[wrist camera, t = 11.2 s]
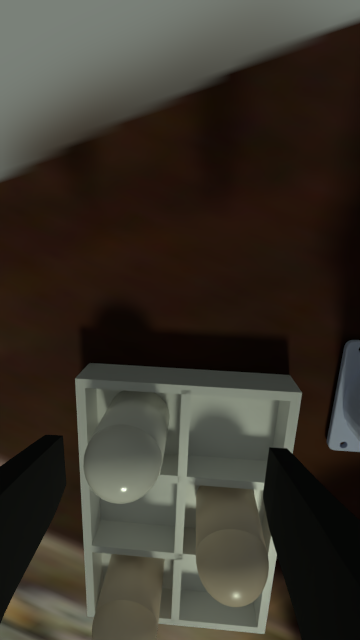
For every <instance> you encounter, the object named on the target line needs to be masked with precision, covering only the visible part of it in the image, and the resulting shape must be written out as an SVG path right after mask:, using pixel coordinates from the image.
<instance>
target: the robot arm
mask: <svg viewBox="0 0 360 640" xmlns="http://www.w3.org/2000/svg"><path fill="white" fill-rule="evenodd" d="M359 347H360V340H350V341H348V342H347V343H346V344H345V346H344V350H343V356H342V361H341V367H340V372H339V377H338V383H337V388H336V393H335V399H334V404H333V409H332V415H331V420H330V426H329V431H328V436H327V444H328V446H329V448H331V449H332V450H340V451H354V452H360V351H359ZM341 442H344V443H343V444H340V443H341ZM65 486H66V475H65V461H64V446H63V436H58V435H45V436H43V437H42V438H40V439H39V440H37V441H36V442H34V443H33V444H31V445H30V446H29V447H27V448H26V449H24V450H23V451H22V452H20V453H19V454H17V455H16V456H15V457H13V458H12V459H10V460H9V461H7V462H6V463H5V464H3V465H2V466H0V623H1V620H2V618H3V616H4V613H5V611H6V609H7V607H8V605H9V603H10V601H11V598H12V596H13V594H14V592H15V590H16V588H17V586H18V584H19V583H20V581H21V579H22V577H23V575H24V573H25V571H26V569H27V567H28V565H29V563H30V561H31V560H32V558H33V556H34V554H35V552H36V550H37V548H38V546H39V544H40V542H41V540H42V538H43V536H44V534H45V533H46V531H47V529H48V527H49V525H50V523H51V521H52V519H53V517H54V515H55V512H56V510H57V507H58V505H59V502H60V500H61V497H62V494H63V491H64V489H65ZM263 500H264V506H265V511H266V516H267V521H268V526H269V530H270V534H271V537H272V540H273V543H274V547H275V550H276V553H277V557H278V560H279V563H280V566H281V569H282V573H283V576H284V579H285V582H286V585H287V589H288V592H289V595H290V598H291V601H292V605H293V608H294V611H295V615H296V618H297V622H298V626H299V629H300V633H301V638H302V640H360V520H359V519H358V518H357V517H355V516H354V515H353V514H352V513H351V512H350V511H349V510H348V509H347V508H345V507H344V506H343V505H342V504H341V503H340V502H339V501H338V500H337V499H336V498H335V497H334V496H333V495H332V494H331V493H330V492H329V491H328V490H327V489H326V488H325V487H324V486H323V485H322V484H321V483H320V482H319V481H318V480H317V479H316V478H315V477H314V476H313V475H312V474H311V473H310V472H309V471H308V470H307V469H306V468H305V467H304V465H303V464H302V463H301V462H300V461H299V460H298V459H297V458H296V457H295V456H294V455H293V454H292V453H291V452H290V451H289V450H288V449H287V448H272V447H269V453H268V460H267V468H266V475H265V483H264V490H263Z"/></svg>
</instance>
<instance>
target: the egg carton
mask: <svg viewBox="0 0 360 640" xmlns="http://www.w3.org/2000/svg"><path fill="white" fill-rule="evenodd" d="M75 384H76V403H77V423H78V442H79V461H80V481H81V500H82V519H83V539H84V558H85V577H86V597H87V616H88V617H94V620H93V626H92V640H156V637H157V631H158V623H159V624H169V625H179V626H189V627H199V628H210V629H220V630H230V631H240V632H250V633H260V634H265V628H266V621H267V615H268V608H269V602H270V596H271V589H272V583H273V576H274V570H275V563H276V557H277V553H276V550H275V547H274V543H273V540H272V537H271V534H270V530H269V526H268V521H267V516H266V511H265V506H264V500H263V490H264V483H265V475H266V468H267V460H268V453H269V447H272V448H287V449H288V450H289V451H290V452H291V453H292V454H293V448H294V441H295V435H296V428H297V422H298V416H299V409H300V403H301V396H302V392H301V390H300V389H299V388H298V386H297V385H296V383H295V382H294V380H293V379H292V378H291V376H290V375H282V374H266V373H249V372H232V371H216V370H199V369H182V368H166V367H149V366H132V365H116V364H99V363H89V364H88V365H87V366H86V367H85V368H84V369H83V370H82V372H81V373H80V374H79V375H78V376H77V377H76V378H75ZM123 390H125V391H140V392H155V393H156V394H158V395H159V396H160V397H161V398H162V399H163V400H164V401H165V403H166V405H167V407H168V409H169V414H170V420H169V427H168V433H167V439H166V445H165V451H164V457H163V463H162V468H161V472H160V475H159V477H158V479H157V481H156V483H155V484H154V486H153V487H152V488H151V489H150V491H149V492H148V493H146V494H145V495H144V496H143V497H141V498H139V499H138V500H135V501H133V502H130V503H125V504H115V503H111V502H108V501H105V500H103V499H101V498H100V497H99V496H97V495H96V494H95V493H94V492H93V490H92V489H91V488H90V486H89V485H88V482H87V480H86V478H85V474H84V467H83V466H84V455H85V451H86V448H87V445H88V443H89V441H90V439H91V437H92V436H93V434H94V432H95V430H96V428H97V427H98V425H99V423H100V421H101V419H102V417H103V416H104V414H105V412H106V410H107V408H108V407H109V405H110V403H111V401H112V400H113V398H114V397H115V396H116V395H117V394H118V393H120V392H121V391H123Z"/></svg>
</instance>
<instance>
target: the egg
mask: <svg viewBox="0 0 360 640" xmlns="http://www.w3.org/2000/svg"><path fill="white" fill-rule="evenodd" d="M169 420H170V414H169V409H168V407H167V405H166V403H165V401H164V400H163V399H162V398H161V397H160V396H159V395H158V394H156V393H155V392H140V391H125V390H123V391H121V392H120V393H118V394H117V395H116V396H115V397H114V398H113V400H112V401H111V403H110V405H109V407H108V408H107V410H106V412H105V414H104V416H103V417H102V419H101V421H100V423H99V425H98V427H97V428H96V430H95V432H94V434H93V436H92V437H91V439H90V441H89V443H88V445H87V448H86V451H85V455H84V466H83V467H84V474H85V478H86V480H87V482H88V485H89V486H90V488H91V489H92V490H93V492H94V493H95V494H96V495H97V496H99V497H100V498H101V499H103V500H105V501H108V502H111V503H115V504H125V503H130V502H133V501H135V500H138V499H139V498H141V497H143V496H144V495H145V494H146V493H148V492H149V491H150V489H151V488H152V487H153V486H154V484H155V483H156V481H157V479H158V477H159V475H160V472H161V468H162V463H163V457H164V451H165V445H166V439H167V433H168V427H169Z"/></svg>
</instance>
